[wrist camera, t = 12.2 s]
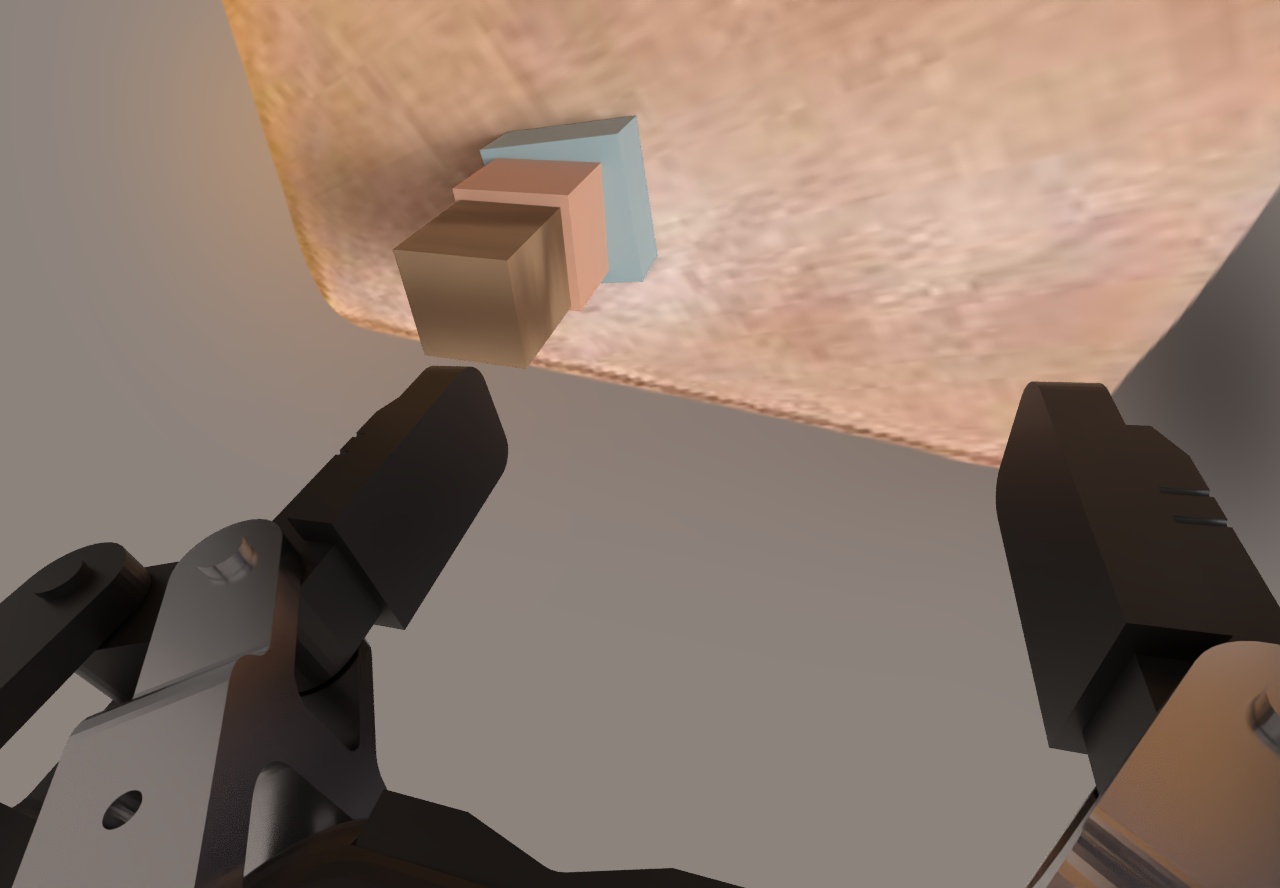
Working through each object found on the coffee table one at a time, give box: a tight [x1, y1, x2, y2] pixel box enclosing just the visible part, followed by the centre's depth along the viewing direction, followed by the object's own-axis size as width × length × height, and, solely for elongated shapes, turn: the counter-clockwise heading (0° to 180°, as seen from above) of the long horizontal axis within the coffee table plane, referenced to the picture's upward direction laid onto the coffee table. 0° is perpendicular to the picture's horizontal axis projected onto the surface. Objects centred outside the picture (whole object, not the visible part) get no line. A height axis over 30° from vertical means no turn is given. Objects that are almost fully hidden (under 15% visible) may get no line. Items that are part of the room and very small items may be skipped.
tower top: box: [452, 158, 609, 311], centre depth 33 cm, size 6×6×5 cm
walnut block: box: [393, 200, 571, 369], centre depth 29 cm, size 5×5×6 cm
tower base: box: [480, 116, 658, 283], centre depth 36 cm, size 8×8×4 cm
